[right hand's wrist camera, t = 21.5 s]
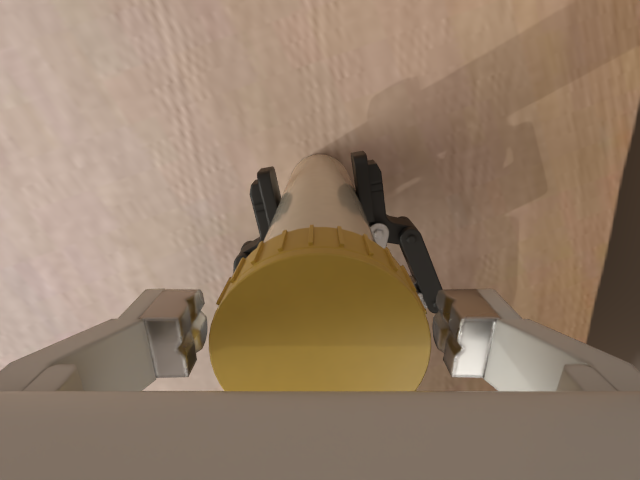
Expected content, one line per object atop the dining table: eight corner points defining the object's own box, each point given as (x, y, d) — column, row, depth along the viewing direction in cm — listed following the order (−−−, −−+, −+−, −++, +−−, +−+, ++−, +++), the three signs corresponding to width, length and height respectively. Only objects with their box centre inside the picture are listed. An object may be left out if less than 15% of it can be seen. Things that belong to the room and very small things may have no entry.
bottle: (357, 163, 26) (434, 280, 8) (340, 220, 27) (376, 415, 10) (297, 147, 25) (249, 236, 8) (283, 205, 27) (219, 384, 10)
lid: (313, 413, 11) (312, 467, 10) (185, 306, 10) (158, 348, 8) (452, 319, 10) (478, 362, 8) (328, 180, 9) (329, 199, 7)
